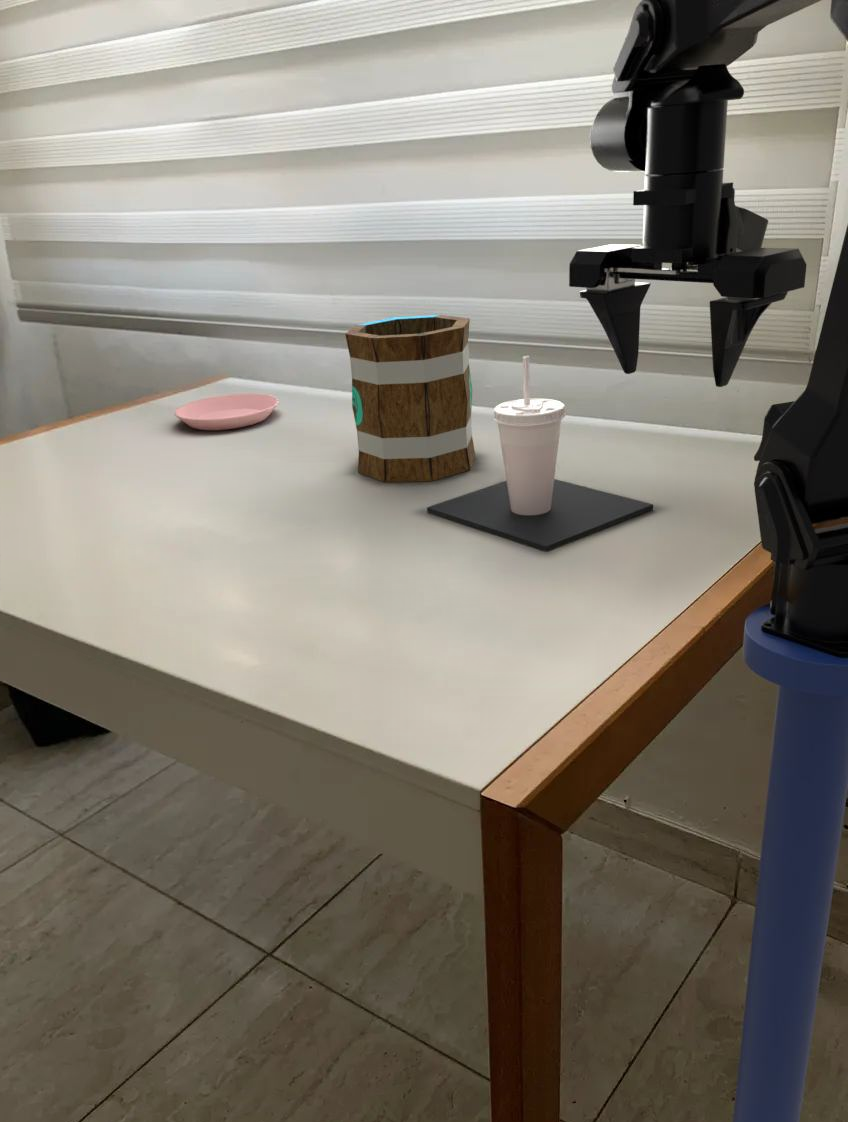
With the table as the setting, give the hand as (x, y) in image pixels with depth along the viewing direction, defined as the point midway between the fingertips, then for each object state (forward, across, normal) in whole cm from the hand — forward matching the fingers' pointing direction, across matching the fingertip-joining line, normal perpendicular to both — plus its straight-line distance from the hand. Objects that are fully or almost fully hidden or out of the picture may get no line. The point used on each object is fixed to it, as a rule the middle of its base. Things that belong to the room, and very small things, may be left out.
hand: (674, 379), depth 84 cm
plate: (+13, +71, +4) cm, 72 cm away
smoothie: (+13, +12, +5) cm, 18 cm away
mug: (+13, +36, 0) cm, 38 cm away
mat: (+13, +12, +4) cm, 18 cm away
